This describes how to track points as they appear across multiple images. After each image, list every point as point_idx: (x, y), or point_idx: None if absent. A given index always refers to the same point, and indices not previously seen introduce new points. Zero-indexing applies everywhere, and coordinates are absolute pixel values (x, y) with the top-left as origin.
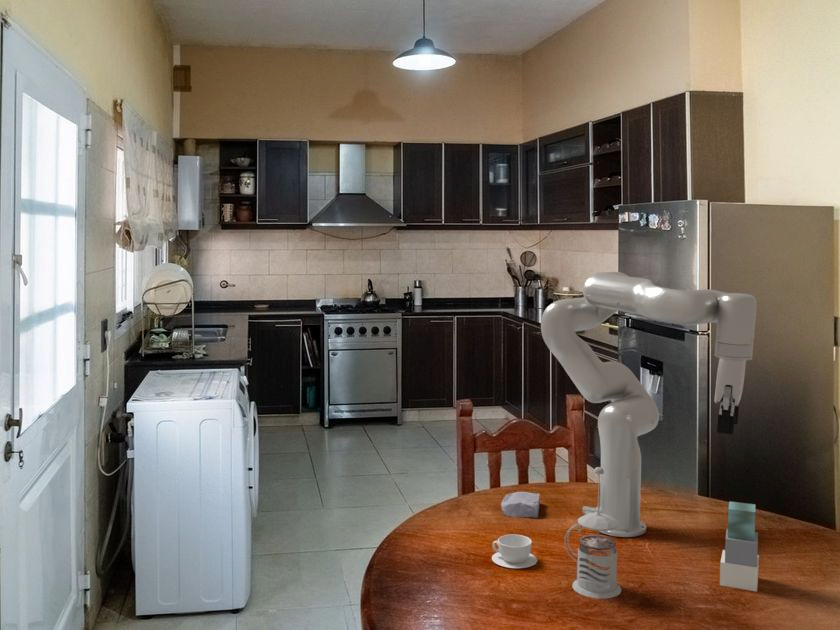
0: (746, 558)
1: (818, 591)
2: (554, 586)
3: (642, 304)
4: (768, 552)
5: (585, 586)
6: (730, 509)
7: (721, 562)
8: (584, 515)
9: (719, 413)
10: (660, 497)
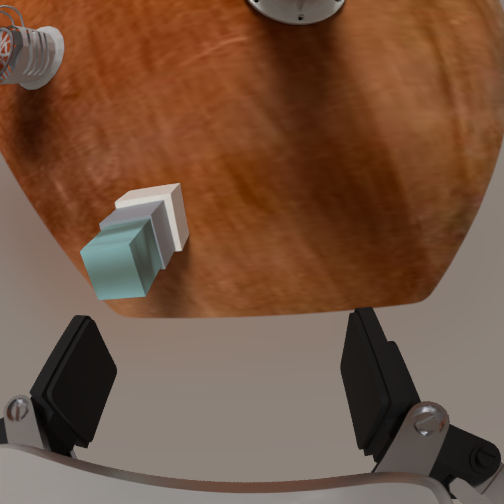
0: None
1: (192, 305)
2: None
3: None
4: (308, 235)
5: (14, 57)
6: (81, 255)
7: (115, 203)
8: None
9: (9, 402)
10: (483, 49)
